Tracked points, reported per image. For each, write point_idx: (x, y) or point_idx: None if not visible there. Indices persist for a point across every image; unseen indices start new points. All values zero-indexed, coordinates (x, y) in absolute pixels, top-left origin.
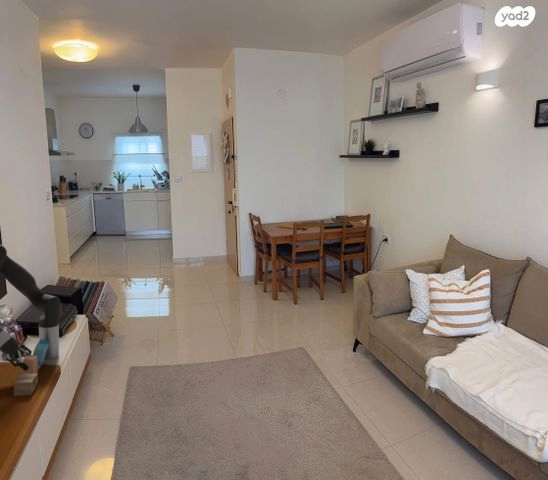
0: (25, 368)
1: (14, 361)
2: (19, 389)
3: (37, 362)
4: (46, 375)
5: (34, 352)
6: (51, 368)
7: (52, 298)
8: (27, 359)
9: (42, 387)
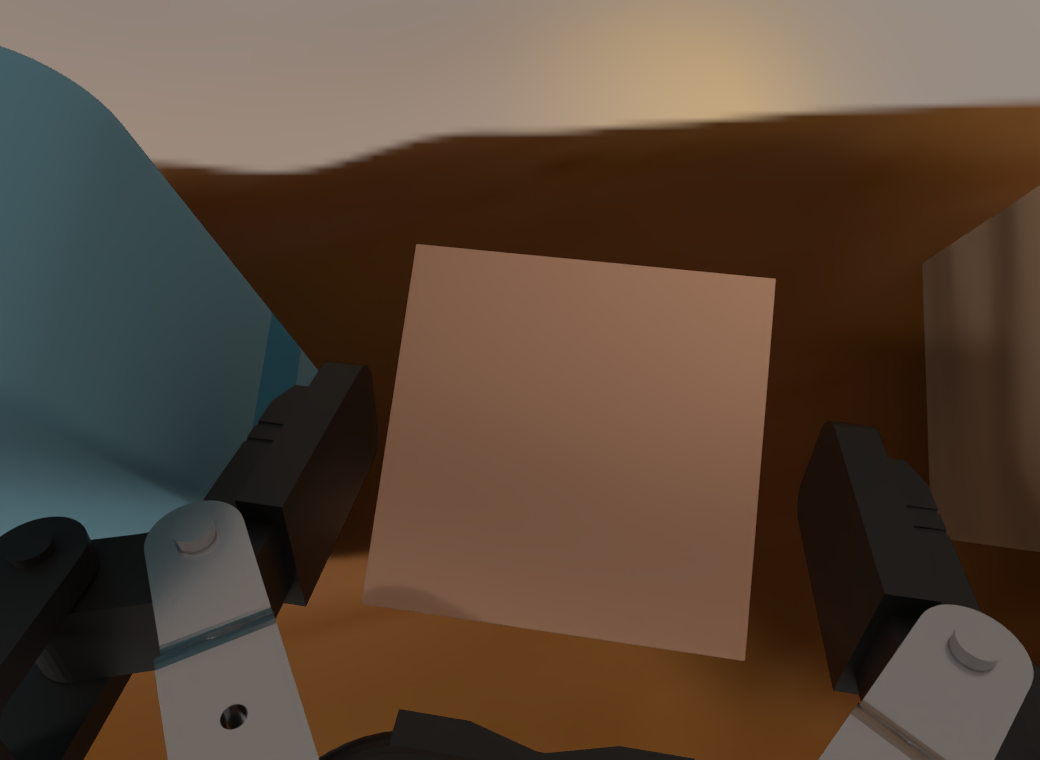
0: (911, 496)
1: None
2: None
3: (271, 381)
4: (526, 224)
5: (106, 415)
6: (248, 214)
7: None
8: (756, 490)
9: (1006, 171)
